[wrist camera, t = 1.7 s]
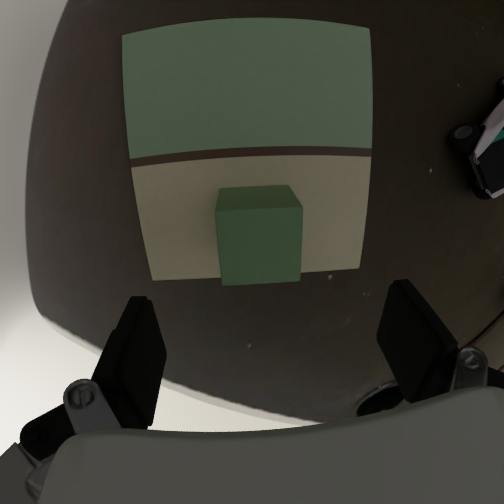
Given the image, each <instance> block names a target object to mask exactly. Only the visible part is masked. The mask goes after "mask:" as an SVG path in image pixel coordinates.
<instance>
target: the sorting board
mask: <svg viewBox="0 0 504 504" xmlns="http://www.w3.org/2000/svg"><path fill="white" fill-rule="evenodd" d="M122 67H123V89H124V105H125V117H126V128H127V137H128V146H129V155H130V166H131V170H132V177H133V183H134V190H135V196H136V202H137V208H138V213H139V219H140V224H141V229H142V234H143V239H144V244H145V249H146V253H147V258H148V262H149V267H150V271H151V275H152V279H153V280H175V279H198V278H218V277H221V272H220V263H219V253H218V243H217V233H216V222H215V207H216V203H217V198H218V193H219V189H220V188H230V187H247V186H270V185H289V186H290V188H291V189H292V191H293V192H294V194H295V195H296V197H297V198H298V200H299V201H300V203H301V204H302V206H303V234H302V257H301V272H315V271H329V270H342V269H355V268H359V265H360V258H361V252H362V245H363V237H364V229H365V221H366V212H367V203H368V192H369V180H370V166H371V157H372V113H373V94H372V60H371V44H370V31H369V28H364V27H358V26H353V25H347V24H340V23H333V22H325V21H316V20H305V19H289V18H232V19H217V20H206V21H197V22H189V23H182V24H175V25H169V26H163V27H158V28H153V29H148V30H143V31H139V32H134V33H130V34H126V35H123V36H122Z"/></svg>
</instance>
